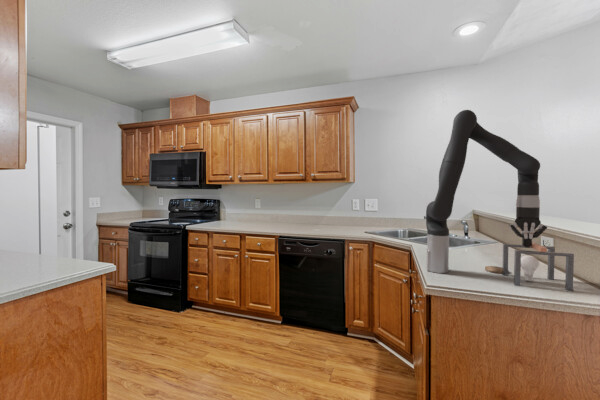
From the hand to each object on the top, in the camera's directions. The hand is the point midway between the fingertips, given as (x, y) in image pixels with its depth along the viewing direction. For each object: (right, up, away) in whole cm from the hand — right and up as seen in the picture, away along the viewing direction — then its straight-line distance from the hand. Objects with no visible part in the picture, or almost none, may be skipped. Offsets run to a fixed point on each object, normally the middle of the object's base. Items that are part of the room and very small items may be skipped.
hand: (527, 247), depth 117 cm
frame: (+3, -14, -1) cm, 15 cm away
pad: (-2, -14, +15) cm, 21 cm away
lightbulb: (+1, -15, 0) cm, 15 cm away
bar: (+2, 0, -1) cm, 3 cm away
